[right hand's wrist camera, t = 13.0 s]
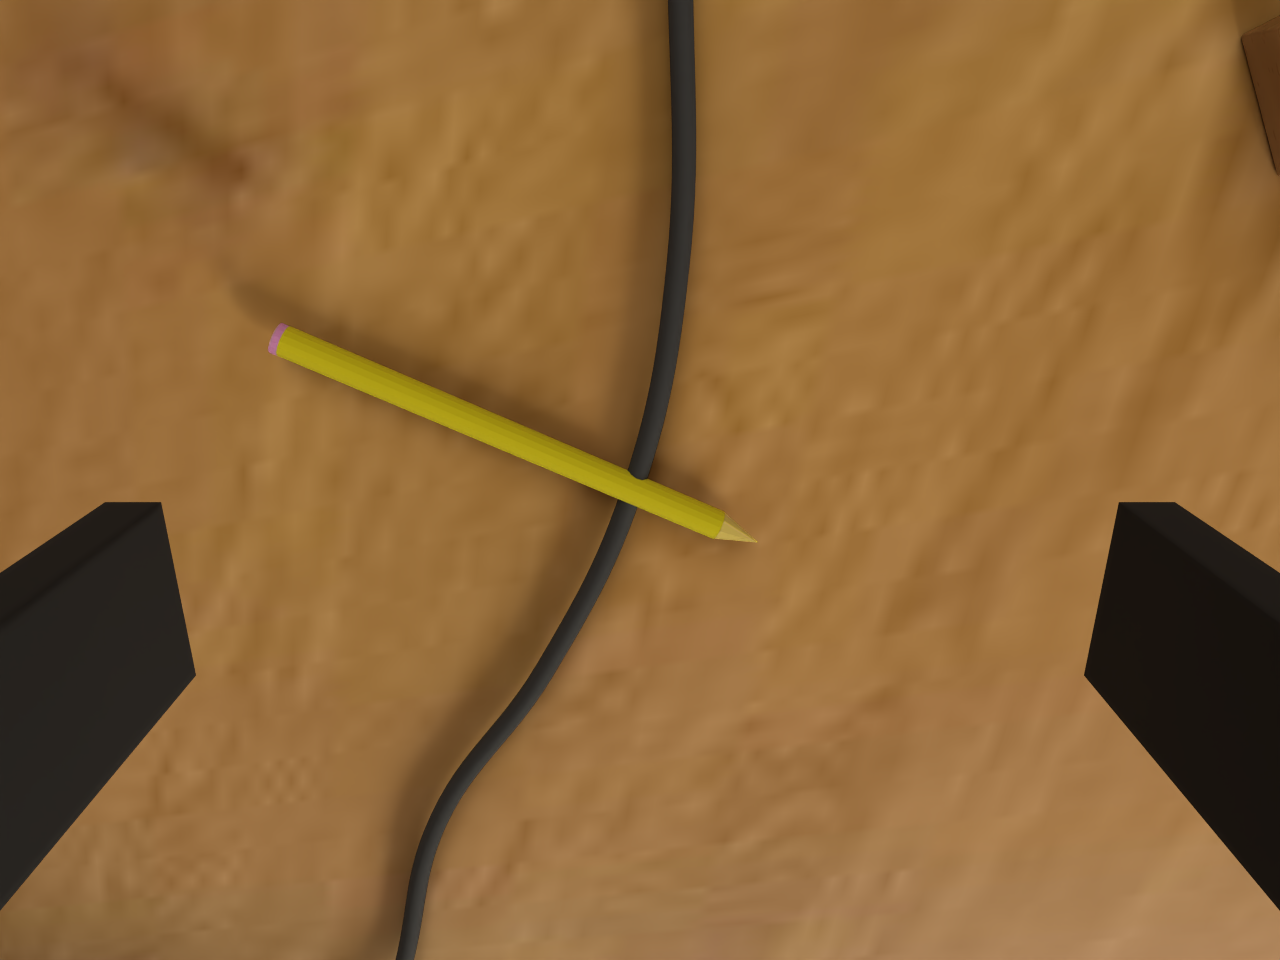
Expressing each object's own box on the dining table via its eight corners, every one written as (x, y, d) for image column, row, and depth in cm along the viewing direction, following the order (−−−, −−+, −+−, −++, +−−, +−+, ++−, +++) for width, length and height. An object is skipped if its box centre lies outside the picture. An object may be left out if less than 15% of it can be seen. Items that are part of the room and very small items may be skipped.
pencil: (277, 349, 28) (265, 356, 27) (286, 320, 28) (274, 325, 27) (749, 548, 31) (753, 560, 30) (762, 523, 30) (767, 535, 29)
